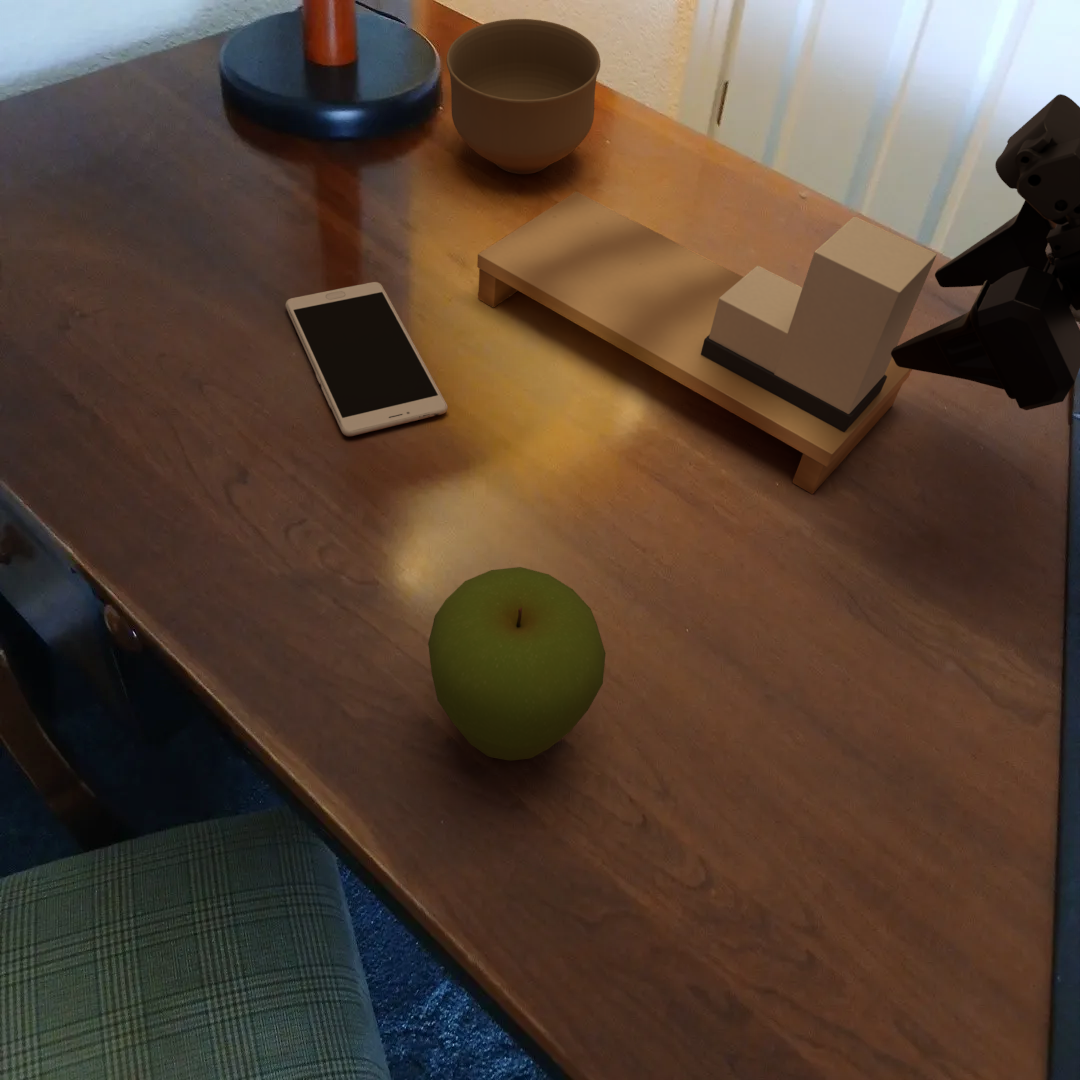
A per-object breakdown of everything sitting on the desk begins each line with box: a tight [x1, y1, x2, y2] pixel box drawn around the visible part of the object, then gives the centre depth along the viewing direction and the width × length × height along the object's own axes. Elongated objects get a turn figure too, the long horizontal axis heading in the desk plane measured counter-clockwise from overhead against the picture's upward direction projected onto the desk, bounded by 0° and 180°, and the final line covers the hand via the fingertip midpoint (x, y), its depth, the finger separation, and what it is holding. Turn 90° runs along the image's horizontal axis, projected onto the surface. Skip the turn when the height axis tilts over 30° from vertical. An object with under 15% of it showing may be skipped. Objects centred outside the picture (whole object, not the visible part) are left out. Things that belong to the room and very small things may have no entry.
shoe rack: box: [476, 190, 913, 495], centre depth 77 cm, size 30×12×4 cm, turn 51°
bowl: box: [445, 18, 601, 175], centre depth 89 cm, size 13×13×10 cm
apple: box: [427, 566, 606, 762], centre depth 52 cm, size 9×8×12 cm
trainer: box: [701, 215, 938, 432], centre depth 67 cm, size 11×5×11 cm, turn 52°
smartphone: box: [285, 281, 449, 437], centre depth 75 cm, size 8×1×15 cm
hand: (916, 317), depth 63 cm, fingers open, 9 cm apart
